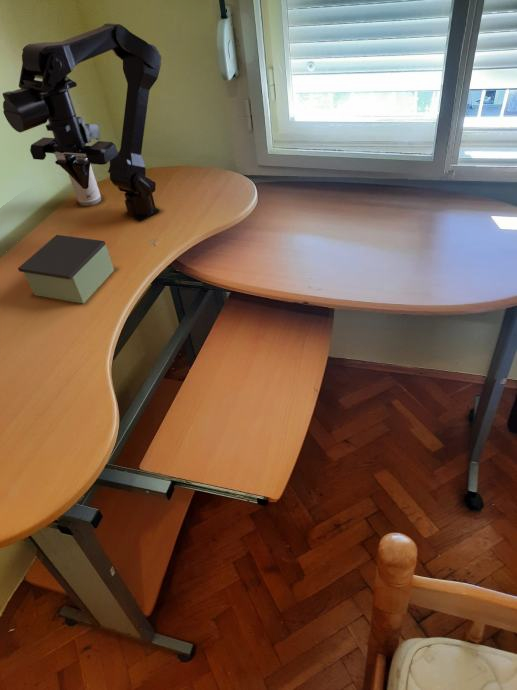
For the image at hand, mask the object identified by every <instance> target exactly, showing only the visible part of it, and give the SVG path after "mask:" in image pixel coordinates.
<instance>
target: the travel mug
mask: <svg viewBox="0 0 517 690" xmlns="http://www.w3.org/2000/svg"><path fill="white" fill-rule="evenodd" d="M79 151H80V150H79ZM68 177H69V179H70V182H71V185H72V188H73V191H74V193H75V196H76V198H77V202H78V204H79V205H80V206H82V207H91V206H95V205H97V204H98V203H100V202H101V201H102V196H101V192H100V189H99V186H98V183H97V180H96V176H95V173H94V171H93V167H92V164H91V163H90V169H89V187H88V188H87V189H83V188H82V187H81V186H80V185H79V184H78V183H77V182H76V181H75V180H74V179H73V177H71V175H70V174H68Z"/></svg>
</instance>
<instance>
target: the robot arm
mask: <svg viewBox="0 0 517 690" xmlns="http://www.w3.org/2000/svg"><path fill="white" fill-rule="evenodd" d="M109 51H112V52H113V53H114V55H115V56H116V57H117V58H119V59H120V60H121V61H122V71H123V74H124V78H125V80H126V83H127V88H126V97H125V106H124V115H123V123H122V131H121V132H122V133H121V139H120V147H119V148H120V149H119V151H118V149H117V148H118V147H117V145H116V144H115V143H114V142H113V141H103V140H101V136H100V125H99V123H85V122H84V119H83V118H82V116H78V115H77V112H76V109H75V106H74V103H73V100H72V99H73V98H72V97H71V94H70V91H69V90H71V89H73V88H75V87H77V86H78V83H77V82H76V81H74V80H72V79H71V78H70V77H68V75H69V74H71V73H72V72H73V70H74V68H75V67H76V66H77V65H79V64H81V63H82V62H85V61H88V60H90V59H92V58H95V57H97V56H100V55H102V54H104V53H107V52H109ZM21 62H22V64H21V68H20V69H21V70H20V76H19V81H18V87H19V88H18V89H16V90H11V91H9V90H8V91H5V92H2V98H3V99H4V101H3V102H2V108H3V111H2V112H3V115H4V117H5V119H6V121H7V122H8V124H9V125H10V127H11V128H12V129H13V130H14V131H16V132H17V133H23V132H27V131H29V130H31V129H34V128H36V127H39V126H41V125H44V124H46V123H47V124H46V125H45V127H46V131H48V132H52V135H53V137H45V136H44V137H41V138H40V139H38V140H37V141H35V142H33V143H32V144H30V148H29V151H30V154H31V156H32V159H33V160H39V161H44V160H46V157H47V154H53V155H55V158H56V160H55V161H54V163H55V164H56V165H58V166H60V168H62V169H63V170H64V171H65V172H66V173H67V174H68V175H69V174H70V175H71V177H73V179H74V180H75V181H76V182H77V183H78V184H79V185H80V186H81V187H82V188H83V189H87V188H88V187H89V169H90V164H91V165H100V166H103V165H107V164H108V163H109V166H108V170H107V173H109V179H110V182H111V183H112V184H113V186H115V187H116V188H117V189H118V190H119V192H123V193H124V198H125V200H124V203H125V207H126V215H127V216H130V217H131V218H134V219H135V220H137V221H139V222H141V221H144V220H145V219H148V218H150V217H152V216H154V215H156V214H158V213H160V208H157V207H156V204H155V199H154V195H153V193H154V192H156V185H157V184H156V181H154V180H152V179H151V178H149V177H147V176H146V173H147V172H146V170H147V169H146V164H145V162H144V158H143V156H142V150H143V142H144V136H145V127H146V120H147V119H146V118H147V111H148V104H149V97H150V91H151V89H152V87H153V86H154V85H155V83H156V81H157V80H158V78H159V74H160V70H161V67H162V55H161V54H160V51H159V49H158V48H157V46H155V45H154V44H151V43H148V42H147V41H146V40H145V39H142V38H141V37H139V36H138V35H136V34H134V33H133V32H131V31H130V30H128V28H127V27H126V26H124V25H122V24H120V23H110V22H108V23H107V22H106V23H104V24H103V25H102V26H100V27H97V28H94V29H92V30H88V31H86V32H83V33H80V34H78V35H75V36H72V37H70V38H66V39H63V40H62V41H45V42H36V43H35V42H34V43H28V44H26V45H25V46H23V48H22V53H21ZM37 79H38V80H37ZM39 79H40V80H39ZM94 139H95V140H97V141H96V142H95V143H94V144H92V145H87V144H91V143H92V140H94ZM79 150H80V151H79Z"/></svg>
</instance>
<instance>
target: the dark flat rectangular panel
mask: <svg viewBox="0 0 517 690" xmlns="http://www.w3.org/2000/svg"><path fill="white" fill-rule="evenodd" d="M104 245H106V241H105V240H100V239H93V238H85V237H77V236H68V235H62V234H56V235H55V236H53V237H52V238H51V239H50V240H48V241H47V242H46V243H45V244H44V245H42V247H40V248H39V249H38V250H37V251H36V252H34V253H33V255H32V256H30V257H29V258H28V259H26V260H25V261H24V262H23V263H22V264H21V265H19V267H18V268H17V270H18V271H19V272H20V273H24V272H26V273H32V274H38V275H45V276H51V277H57V278H63V279H69V280H71V279H72V278H73V277H74V276H75V275H76V274H77V273H78V271H79V270H80V269H81V268H82V267H83V266H84V265H85V264H86V263H87V262H88V261H89V260H90V259H91V258H92V257H93V256H94V255H95V254H96V253H97V252H98V251H99V250H100V249H101V248H102V247H103V246H104Z"/></svg>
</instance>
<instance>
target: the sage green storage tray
mask: <svg viewBox="0 0 517 690" xmlns="http://www.w3.org/2000/svg"><path fill="white" fill-rule="evenodd" d="M114 271H115V268H114V264H113V262H112V259H111V256H110V253H109V250H108V247H107V244H105V245H104V246H103V247H102V248H101V249H100V250H99V251H98V252H97V253H96V254H95V255H94V256H93V257H92V258H91V259H90V260H89V261H88V262H87V263H86V264H85V265H84V266H83V267H82V268H81V269H80V270H79V271H78V273H77V274H76V275H75V276H74V277H73V278H72V279H71V280H69V279H63V278H57V277H51V276H45V275H38V274H32V273H26V272H23V274H24V277H25V278H26V281H27V282H28V285H29V286H30V288H31V290H32V292H33V294H34V296H38V297H42V298H43V297H45V298H50V299H55V300H61V301H67V302H72V303H78V304H83V305H84V304H85V302H87V301H88V300H89V298H91V297H92V295H93V294H94V293H96V291H97V290H98V289H99V288H100V286H101V285H102V284H103V283H104V282H105V281H106V280H107V279H108V278H109V277H110V276H111V274H112V273H113V272H114Z"/></svg>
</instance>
